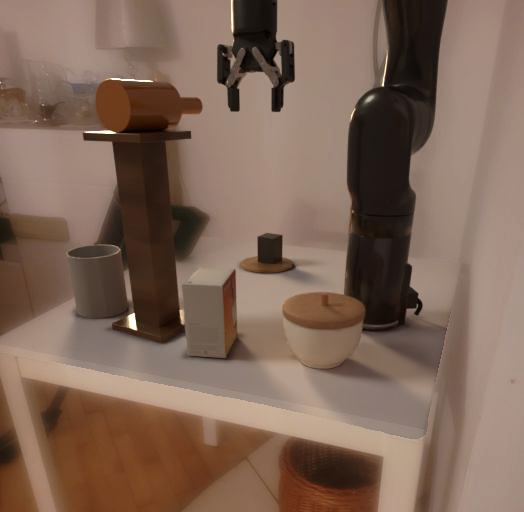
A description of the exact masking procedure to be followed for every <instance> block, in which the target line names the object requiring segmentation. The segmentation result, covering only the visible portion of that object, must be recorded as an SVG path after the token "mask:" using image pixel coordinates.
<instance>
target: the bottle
mask: <svg viewBox="0 0 524 512" xmlns="http://www.w3.org/2000/svg"><path fill="white" fill-rule="evenodd" d="M94 99H95V100H94V103H95V105H94V106H95V110H96V114H97V117H98V119H99V121H100V124H102V125H103V127H104V128H105V129H106V130H107V131H111V132H114V133H121V132H139V131H156V130H173V129H175V128H176V127H177V126H178V125H179V123H180V122H181V119H182V117H183V116H198V115H200V114H201V113H202V112H203V106H204V105H203V102H202V100H201V98H199V97H196V96H181V95H180V93H179V91H178V89H177V88H176V87H175V86H174V85H173V84H171V83H170V82H167V81H155V80H137V79H121V78H106V79H104V80H103V81H101V82H100V84H99V85H98V86H97V89H96V91H95V98H94Z"/></svg>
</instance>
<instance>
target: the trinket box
mask: <svg viewBox="0 0 524 512" xmlns="http://www.w3.org/2000/svg"><path fill="white" fill-rule="evenodd" d="M281 306H282V307H281V308H282V309H281V310H282V311H281V312H282V326H283V333H284V334H283V335H284V338H285V342H286V344H287V347H288V348H289V350H290V351H291V353H292V354H293V356H295V357H296V358H297V359H298V361H299V362H300V364H302V365H304V366H306V367H309V368H312V369H319V370H328V369H333V368H337V367H339V366H340V365H342V364H343V362H344V361H345V360H347V359H348V358H350V357H351V355H352V354H353V353H354V352H355V350H356V349H357V347H358V345H359V343H360V340H361V336H362V332H363V329H362V328H363V320H364V317H365V306H364V305H363V304H362V303H361V302H360V301H359V300H357V299H355V298H353V297H350V296H346V295H344V293H343V294H342V293H336V292H328V291H312V292H311V291H310V292H305V293H299V294H295V295H292V296H290V297H288V298H287V299H286V300H285V301H284V302H283V303H282V305H281Z"/></svg>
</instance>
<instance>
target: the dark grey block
mask: <svg viewBox="0 0 524 512" xmlns="http://www.w3.org/2000/svg"><path fill="white" fill-rule="evenodd" d="M256 237H257V241H256V242H257V256H258V262H263V263H269V264H275V263H277V262H279V261H281V260H282V257H283V242H284V241H283V234H278V233H273V232H272V233H271V232H265V233H262V234H261V235H258V236H256Z"/></svg>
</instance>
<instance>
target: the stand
mask: <svg viewBox="0 0 524 512" xmlns="http://www.w3.org/2000/svg"><path fill="white" fill-rule="evenodd" d="M82 139H83V141H85V142H103V143H104V142H105V143H106V142H108V143H111V144H112V152H113V160H114V168H115V176H116V183H117V191H118V198H119V199H118V200H119V207H120V214H121V223H122V230H123V237H124V243H125V244H124V245H125V252H126V260H127V261H126V262H127V268H128V276H129V282H130V284H129V285H130V291H131V300H132V307H133V313H131V314H129V315H127V316H124V317H123V318H120V319H118V320H116V321H114V322H111V329H112V330H113V331H118V332H121V333H125V334H128V335H132V336H136V337H140V338H142V339H146V340H150V341H153V342H157V343H160V344H163V343H165V342H166V341H168V340H170V339H172V338H174V337H175V336H178V335H179V334H180V333H182V332H185V321H184V309H181V308H180V298H179V297H180V296H179V286H178V275H177V274H178V273H177V263H176V262H177V261H176V250H175V237H174V226H173V214H172V213H173V212H172V203H171V201H172V200H171V191H170V179H169V168H168V167H169V166H168V157H167V156H168V155H167V143H166V142H169V141H170V142H171V141H181V140H182V141H183V140H192V131H191V130H175V129H174V130H173V129H170V130H156V131H139V132H121V133H114V132H111V131H109V130H99V131H82Z"/></svg>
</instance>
